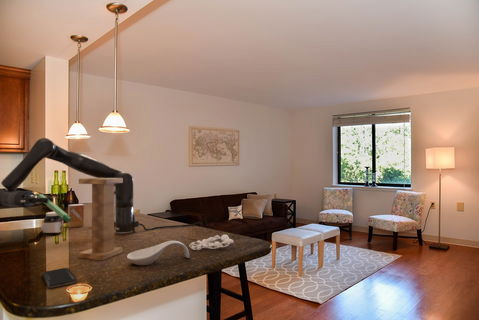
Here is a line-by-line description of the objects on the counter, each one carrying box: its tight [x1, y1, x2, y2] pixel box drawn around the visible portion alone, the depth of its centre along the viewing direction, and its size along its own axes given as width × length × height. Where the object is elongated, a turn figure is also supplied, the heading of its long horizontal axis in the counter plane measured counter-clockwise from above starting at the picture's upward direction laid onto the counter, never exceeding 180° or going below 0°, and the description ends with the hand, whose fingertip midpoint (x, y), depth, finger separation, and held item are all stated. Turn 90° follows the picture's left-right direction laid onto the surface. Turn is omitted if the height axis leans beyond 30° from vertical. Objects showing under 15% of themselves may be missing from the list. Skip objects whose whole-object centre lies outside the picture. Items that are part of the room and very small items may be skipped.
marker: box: [36, 193, 72, 223], centre depth 142 cm, size 21×2×2 cm, turn 71°
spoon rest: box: [126, 240, 191, 266], centre depth 126 cm, size 24×12×7 cm, turn 116°
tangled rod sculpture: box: [188, 234, 234, 252], centre depth 146 cm, size 19×14×4 cm
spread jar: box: [40, 211, 64, 237], centre depth 176 cm, size 12×11×12 cm
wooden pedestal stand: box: [78, 177, 124, 261], centre depth 135 cm, size 14×12×32 cm
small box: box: [67, 203, 85, 228], centre depth 197 cm, size 8×6×13 cm
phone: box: [42, 267, 77, 289], centre depth 107 cm, size 8×1×15 cm
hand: (49, 200), depth 143 cm, fingers closed on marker, 2 cm apart
